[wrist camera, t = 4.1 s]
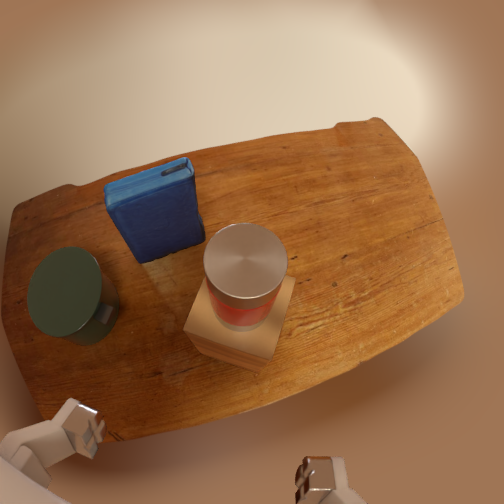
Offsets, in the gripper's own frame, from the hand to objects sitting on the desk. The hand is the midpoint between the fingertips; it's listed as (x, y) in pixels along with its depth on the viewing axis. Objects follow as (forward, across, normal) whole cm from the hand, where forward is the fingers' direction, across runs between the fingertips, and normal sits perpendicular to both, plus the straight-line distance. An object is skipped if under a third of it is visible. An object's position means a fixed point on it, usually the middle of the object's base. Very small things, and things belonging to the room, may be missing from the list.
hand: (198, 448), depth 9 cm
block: (+35, 0, -17) cm, 39 cm away
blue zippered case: (+45, -16, -7) cm, 49 cm away
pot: (+34, -30, -19) cm, 48 cm away
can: (+22, 0, -5) cm, 23 cm away
